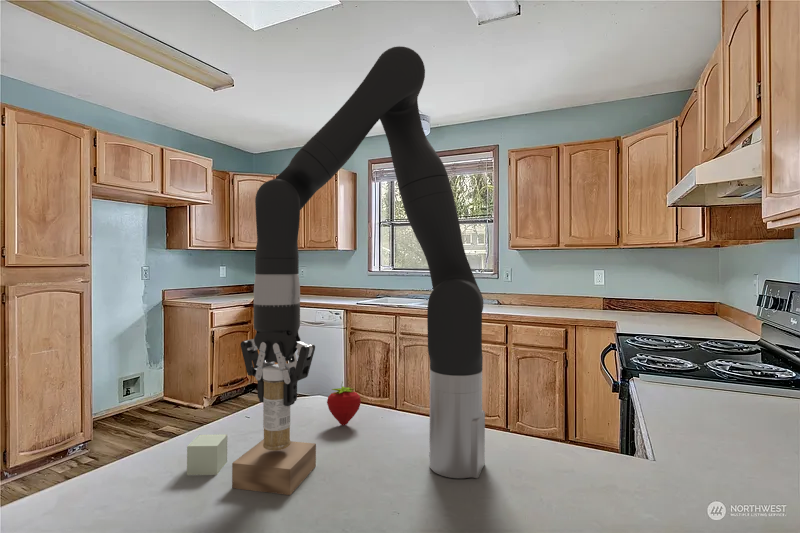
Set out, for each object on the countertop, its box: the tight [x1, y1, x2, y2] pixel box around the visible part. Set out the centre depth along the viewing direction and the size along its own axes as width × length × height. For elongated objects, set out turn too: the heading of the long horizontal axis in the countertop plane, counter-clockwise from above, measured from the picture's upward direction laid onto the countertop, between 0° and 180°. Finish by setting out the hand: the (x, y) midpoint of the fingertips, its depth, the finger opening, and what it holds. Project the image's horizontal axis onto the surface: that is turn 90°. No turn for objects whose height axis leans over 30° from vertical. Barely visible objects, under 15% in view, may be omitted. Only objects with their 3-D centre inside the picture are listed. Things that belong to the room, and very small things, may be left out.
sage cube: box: [186, 434, 228, 476], centre depth 76 cm, size 5×5×5 cm
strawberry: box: [326, 381, 362, 426], centre depth 97 cm, size 6×8×10 cm
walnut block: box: [231, 438, 317, 496], centre depth 73 cm, size 10×10×4 cm
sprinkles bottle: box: [262, 363, 292, 451], centre depth 73 cm, size 5×5×14 cm
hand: (277, 402), depth 74 cm, fingers closed on sprinkles bottle, 4 cm apart
